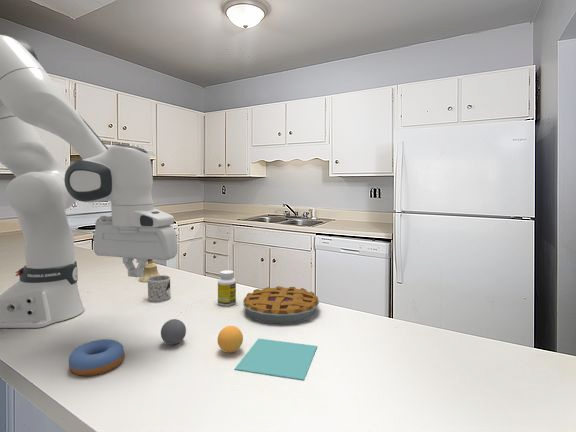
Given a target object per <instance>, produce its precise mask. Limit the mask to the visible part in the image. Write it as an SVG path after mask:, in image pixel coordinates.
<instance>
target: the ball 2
mask: <svg viewBox="0 0 576 432" xmlns="http://www.w3.org/2000/svg"><path fill="white" fill-rule="evenodd" d="M243 341H244V335H243V332H242V331H241V329H240V328H238V327H237V326H236V325H235V326H234V325H227V326H225V327H223V328H222V329H221V330H220V331H219V332H218V335H217V344H218V347H219V349H220V350H222V351H223V352H225V353H235V352H237V351H238V350H239V349H240V348H241V346H242V345H243Z"/></svg>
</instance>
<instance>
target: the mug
mask: <svg viewBox="0 0 576 432" xmlns="http://www.w3.org/2000/svg"><path fill="white" fill-rule="evenodd" d="M171 297H172V296H171V276H169V275H160V276H153V277H150V278H148V282H147V300H148V302H150V303H164V302H168V301H169V300H171V299H172V298H171Z"/></svg>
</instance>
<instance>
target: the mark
mask: <svg viewBox="0 0 576 432" xmlns="http://www.w3.org/2000/svg"><path fill="white" fill-rule="evenodd" d="M317 348H318V345H315V344H314V345H311V344H305V343H297V342H290V341H281V340H273V339H266V338H265V339H264V338H257V340H256V341H254V343H253V344H252V345H251V347H250V349H249V350H248V351H247V352H246V353H245V354H244V356H243V357H242V359H241V360H240V361H239V363H237V365H236V366H235V368H234V371H240V372H245V373H253V374H260V375H265V376H273V377H280V378H287V379H292V380H299V381H300V380H301V381H304V380H305V378H306V376H307V374H308V371H309V369H310V367H311V366H310V365H311V363H312V362H313V359H314V356H315V353H316V351H317Z"/></svg>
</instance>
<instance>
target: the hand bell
mask: <svg viewBox="0 0 576 432" xmlns="http://www.w3.org/2000/svg"><path fill="white" fill-rule="evenodd" d="M153 261H154V260H153V259H148V261H147V263H146V265H145V267H144V268H143V272H144V275H143V276H142V277H138V282H140V283H148V278H150V277H153V276H160V273H159V271H158V266H157V264H155V263H154V262H153Z"/></svg>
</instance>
